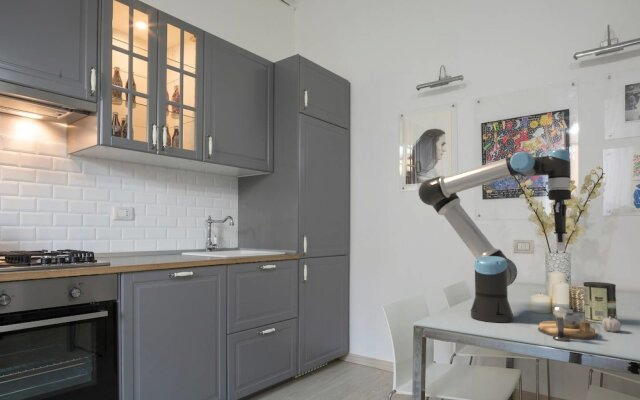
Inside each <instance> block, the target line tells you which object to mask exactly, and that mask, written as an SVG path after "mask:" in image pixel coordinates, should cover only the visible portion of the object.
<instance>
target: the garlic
mask: <svg viewBox="0 0 640 400" xmlns="http://www.w3.org/2000/svg"><path fill="white" fill-rule="evenodd" d="M601 326H602V328H603V329H604V331H606V332H611V333H617V332H619V331H621V328H622V324H621V322H620V321H619V320H618V318H617V319H614V318H611V316H609V318H605V319H603V321H602V323H601Z"/></svg>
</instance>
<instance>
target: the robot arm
mask: <svg viewBox="0 0 640 400" xmlns="http://www.w3.org/2000/svg"><path fill="white" fill-rule="evenodd" d="M570 156H571V155H570V152H569V150H567V149H563V148H562V149H558V148H556V149H551V150H548V151H547V154H546V155H545V156H533V155H532V154H531V153H529V152H527V151H517V152H515V153H514V154H512V156H508V157H505V158H502V159H499V160H496V161H493V162H489V163H486V164H483V165H480V166H475V167H473V168H471V169H467V170H464V171H460V172H458V173H454V174H450V175H447V176H444V175H439V176H436V177H432V178H429V179H426V180H425V181H423V182H422V183H421V184H420V185H419V188H418V197H419V198H420V201H421V202H422V203H423V204H425V205H426V206H427V205H428V206H430V207H432V208H434V210H435V211H436V213H437V214H438V215H440V216H443V217H444V218H445V219H446V221H447V222H448V223H449V224H450V225H451V227H452V228H453V230H454V231H455V232H456V233H457V235H458V236H459V238H460V239H461V240H462V243H464V244H465V246H466V247H467V248H468V250H469V251H470V252H471V254H472V255H473V256H474V257H475V260H474V267H473V268H474V300H473V303H472V306H471V309H470V318H471V319H474V320H478V321H482V322H483V321H484V322H490V323H509V322H513V321H514V313H513V311H512V308H511V305H510V302H509V298H508V286H510V285H512V284H513V283H514V282H515V281H516V279H517V277H518V268H517V266H516V264H515V262H514V261H512V260H511V259H510V258H508V257H507V256H506V255H505V254H504V252H503V251H502V250H501V249H500V248H495V247H494V246H493V245H492V244H491V242H490V241H489V239H488V238H487V237H486V236H485V234H484V233H483V232H482V231H481V229H480V228H479V227H478V225H477V224H476V223H475V222H474V220H473V219H472V218H471V217H470V216H469V214H468V213H467V211H466V210H465V209H464V208H463V207H462V205H461V198H460V196H458V195H457V193H460V192H462V191H467V190H470V189H474V188H477V187H481V186H484V185H488V184H490V183H494V182H497V181H501V180H504V179H508V178H511V177H514V176H515V177H517V178H519V177H520V178H521V177H522V178H525V177H537V176H547V189H549V190H548V192H547V193H548V200H549V201H554V204H553V205H552V209H553V215H554V217H553V218H554V219H553V220H554V231H553V234H554V235H556V237H555V239H556V251H557V252H566V234H568V232H567V228H566V227H567V225H566V224H567V218H566V217H567V204H565V201H567V200H568V201H569V200H571V199H572V191H571V187H572V186H571V184H572V183H573V180H571V159H570Z"/></svg>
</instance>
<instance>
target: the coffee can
mask: <svg viewBox="0 0 640 400" xmlns="http://www.w3.org/2000/svg"><path fill="white" fill-rule="evenodd" d="M582 283H583V294H584V295H583V296H584V298H583V299H584V321H586V322H590V323H591V322H592V323H597V324H602V321H603V319H605V318H609V316H611V318H614V319H617V320H618V315H617V292H616V287H617V285H616V284H615V283H610V282H601V281H599V282H598V281H585V282H582Z"/></svg>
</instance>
